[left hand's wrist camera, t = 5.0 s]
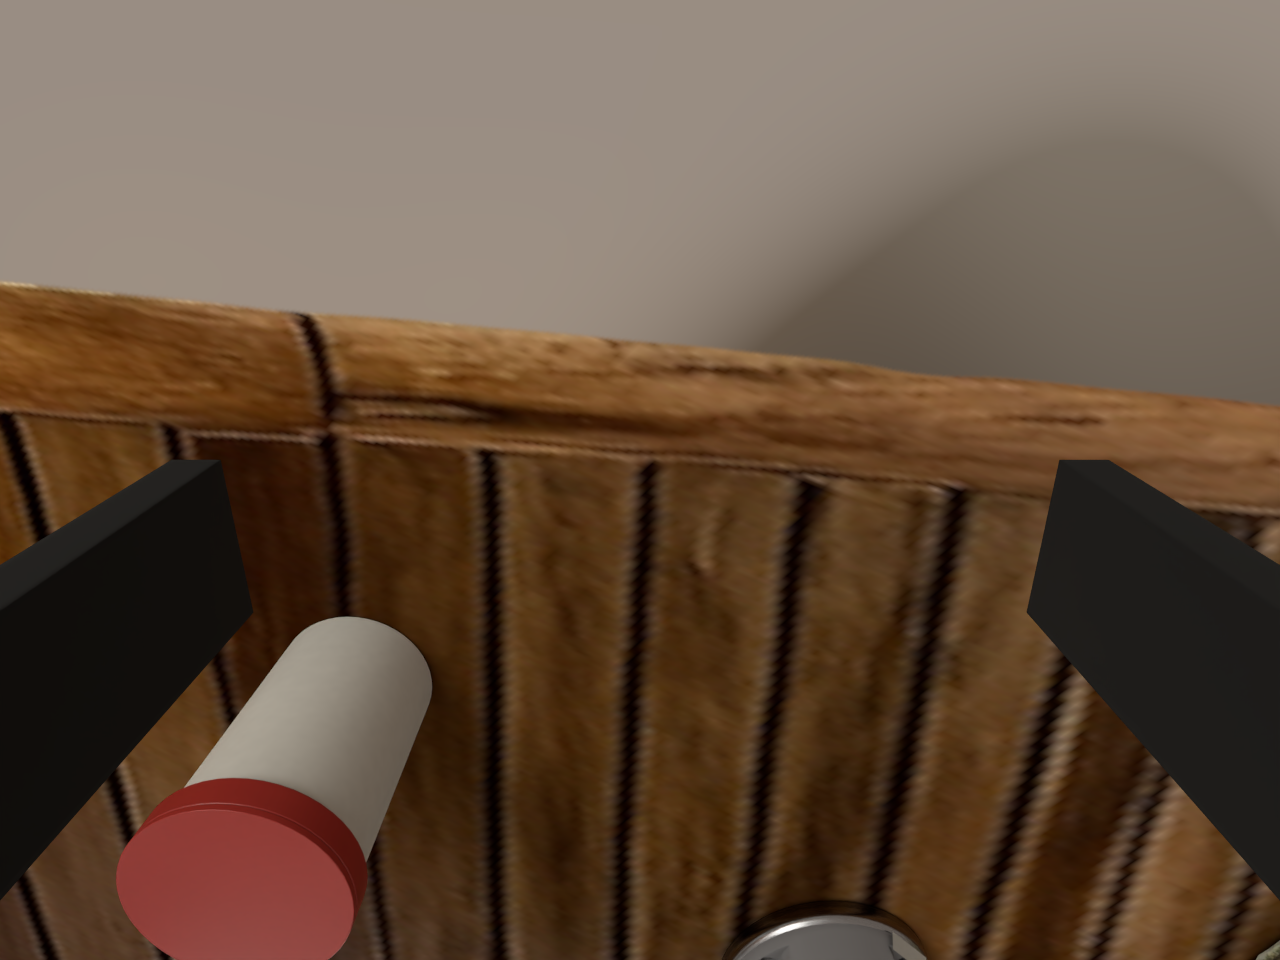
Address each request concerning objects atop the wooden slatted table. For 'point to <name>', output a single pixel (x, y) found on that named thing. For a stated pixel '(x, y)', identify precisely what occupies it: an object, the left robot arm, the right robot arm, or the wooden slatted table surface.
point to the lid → (242, 874)
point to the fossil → (1271, 953)
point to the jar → (332, 721)
